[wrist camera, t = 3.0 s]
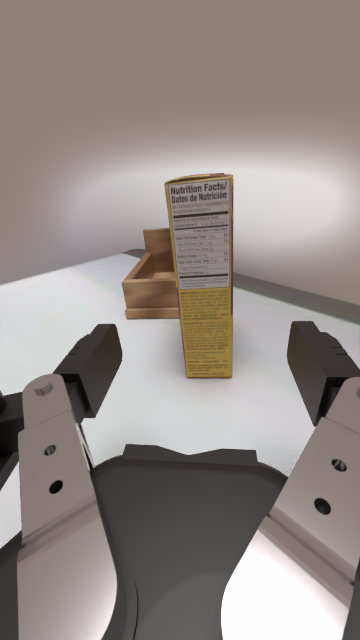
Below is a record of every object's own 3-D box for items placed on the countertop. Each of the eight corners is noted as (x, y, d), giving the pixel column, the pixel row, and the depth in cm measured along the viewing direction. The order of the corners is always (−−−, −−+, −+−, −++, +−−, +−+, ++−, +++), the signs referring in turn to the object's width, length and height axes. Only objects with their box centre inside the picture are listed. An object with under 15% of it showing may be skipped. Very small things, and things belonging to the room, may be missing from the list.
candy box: (189, 326, 30) (178, 176, 22) (226, 325, 29) (228, 171, 22) (181, 379, 22) (161, 177, 15) (232, 380, 21) (239, 170, 14)
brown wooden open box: (127, 319, 32) (113, 254, 28) (151, 276, 46) (144, 228, 42) (202, 317, 31) (199, 250, 27) (205, 274, 45) (203, 225, 41)
